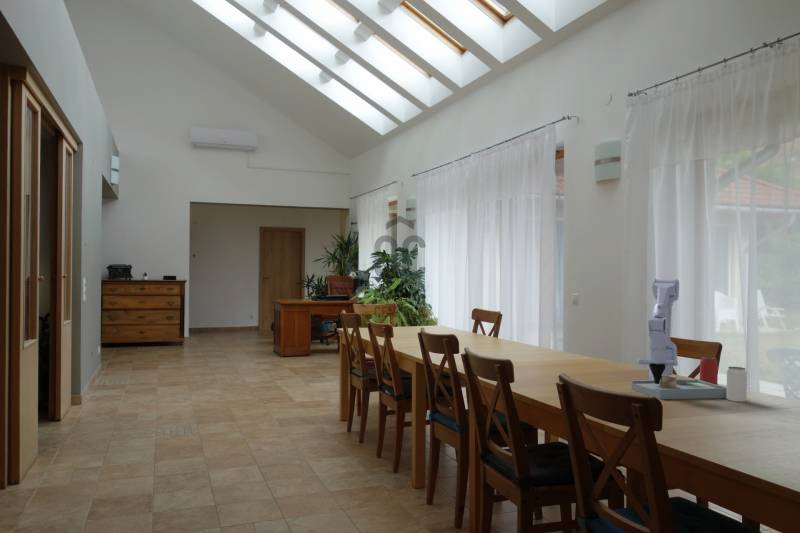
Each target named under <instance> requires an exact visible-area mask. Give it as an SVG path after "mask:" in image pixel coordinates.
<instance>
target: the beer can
mask: <svg viewBox="0 0 800 533" xmlns="http://www.w3.org/2000/svg"><path fill="white" fill-rule="evenodd" d="M700 358H701V359H700V361H699V380H701V381H705V382H708V383H712V384H716V385H718V380H719V379H718V377H719V376H718V374H719V373H718V371H719V364H718V360H717V358H716V357H714V356H713V357H712V356H702V357H701V356H700Z"/></svg>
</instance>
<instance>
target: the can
mask: <svg viewBox="0 0 800 533" xmlns="http://www.w3.org/2000/svg"><path fill="white" fill-rule="evenodd" d="M727 368H728V369H727V370H726V387H727V395H726V397H727V398H726V400H727V401H729V402H735V403H745V402H746V401H747V390H748V389H747V386H748V384H747V382H748V377H747V376H748V372H747V369H746V367H742V366H741V367H740V366H728V367H727Z"/></svg>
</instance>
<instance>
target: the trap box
mask: <svg viewBox="0 0 800 533" xmlns="http://www.w3.org/2000/svg"><path fill="white" fill-rule="evenodd" d="M631 390H633V391H636V392H639V393H641V394H644V395H648V396H650V395H652V396H651V397H653V396H656V397H658V398H659V399H658V398H657V399H658V400H681V399H682V400H683V399H684V400H685V399H686V400H687V399H688V400H689V399H690V400H691V399H727V397H726V395H727V386H722V385H719V384H717V385H716V384H712V383H708V382H705V381H701V380H700V379H677V383H676V388H667V387H661V386H660V385H659V384H655V383H654V380H649V379H641V380H639V379H637V380H636V379H633V380H631Z"/></svg>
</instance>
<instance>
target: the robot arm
mask: <svg viewBox="0 0 800 533" xmlns="http://www.w3.org/2000/svg"><path fill="white" fill-rule="evenodd" d="M679 281H680V280H678V278H675V279H673V278H671V279H669V278H667V279H665V278H654V279H653V280H652V284H651V285H652V286H651V287H652V288H651V290H652V293H653V297H654V299H655V300H656V304H654V305H653V306H652V310H651V311H652V312H651V317H650V318H648V323H647V324H648V325H647V328H648V337H649V353H648V354H649V355H648V357H649V358H637V360H636V361H637V362H636V364H637V365H648V367H649V369H648V373H649V374H648V380H654V383H655V384H659V382H660V378H661V376H662V375H673V376H674V371H673V370H674V367H678V347H677V345H676V344H675V343H674V342H673V341H672V340H671V327H672V311H673V305H674V302H676V301H678V300H679V299H678V298H679V294H680V282H679Z"/></svg>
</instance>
